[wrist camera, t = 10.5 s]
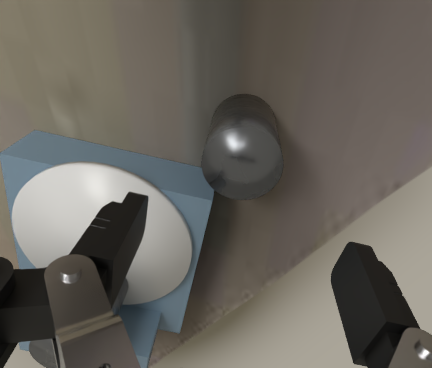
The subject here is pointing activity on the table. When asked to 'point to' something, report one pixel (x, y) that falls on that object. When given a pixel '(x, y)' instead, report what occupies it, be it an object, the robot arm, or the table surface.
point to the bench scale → (92, 203)
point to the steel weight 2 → (242, 149)
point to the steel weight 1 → (44, 348)
